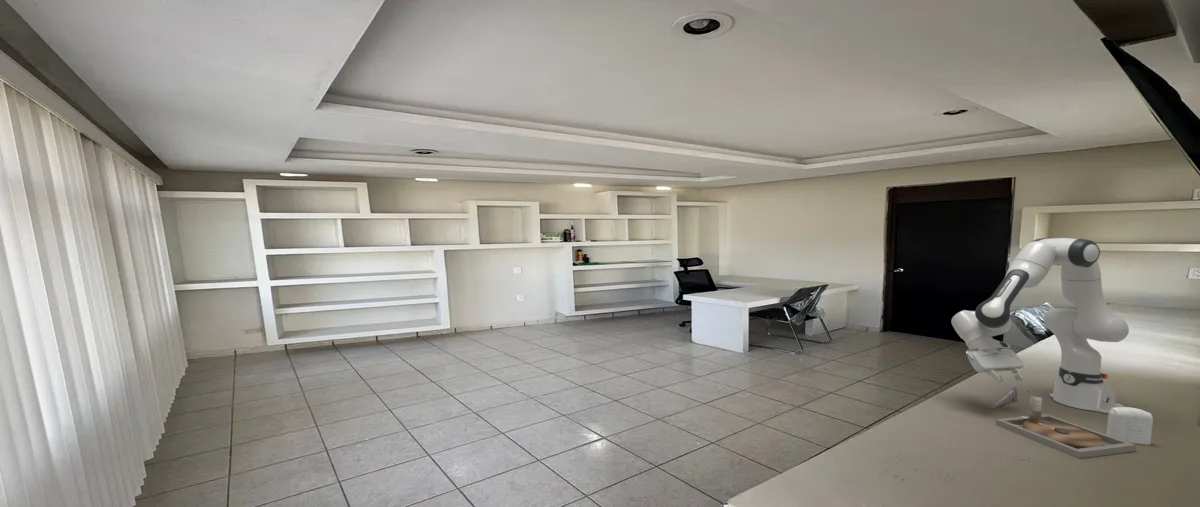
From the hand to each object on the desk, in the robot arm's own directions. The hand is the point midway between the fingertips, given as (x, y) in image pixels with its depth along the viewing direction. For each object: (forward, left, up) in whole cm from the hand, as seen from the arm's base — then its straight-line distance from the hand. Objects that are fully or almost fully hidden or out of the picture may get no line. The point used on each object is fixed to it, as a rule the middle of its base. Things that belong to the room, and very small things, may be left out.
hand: (1010, 380), depth 166 cm
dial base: (0, +16, -15) cm, 22 cm away
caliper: (-16, -13, -16) cm, 26 cm away
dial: (0, +16, -14) cm, 21 cm away
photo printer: (-20, +22, -15) cm, 34 cm away
